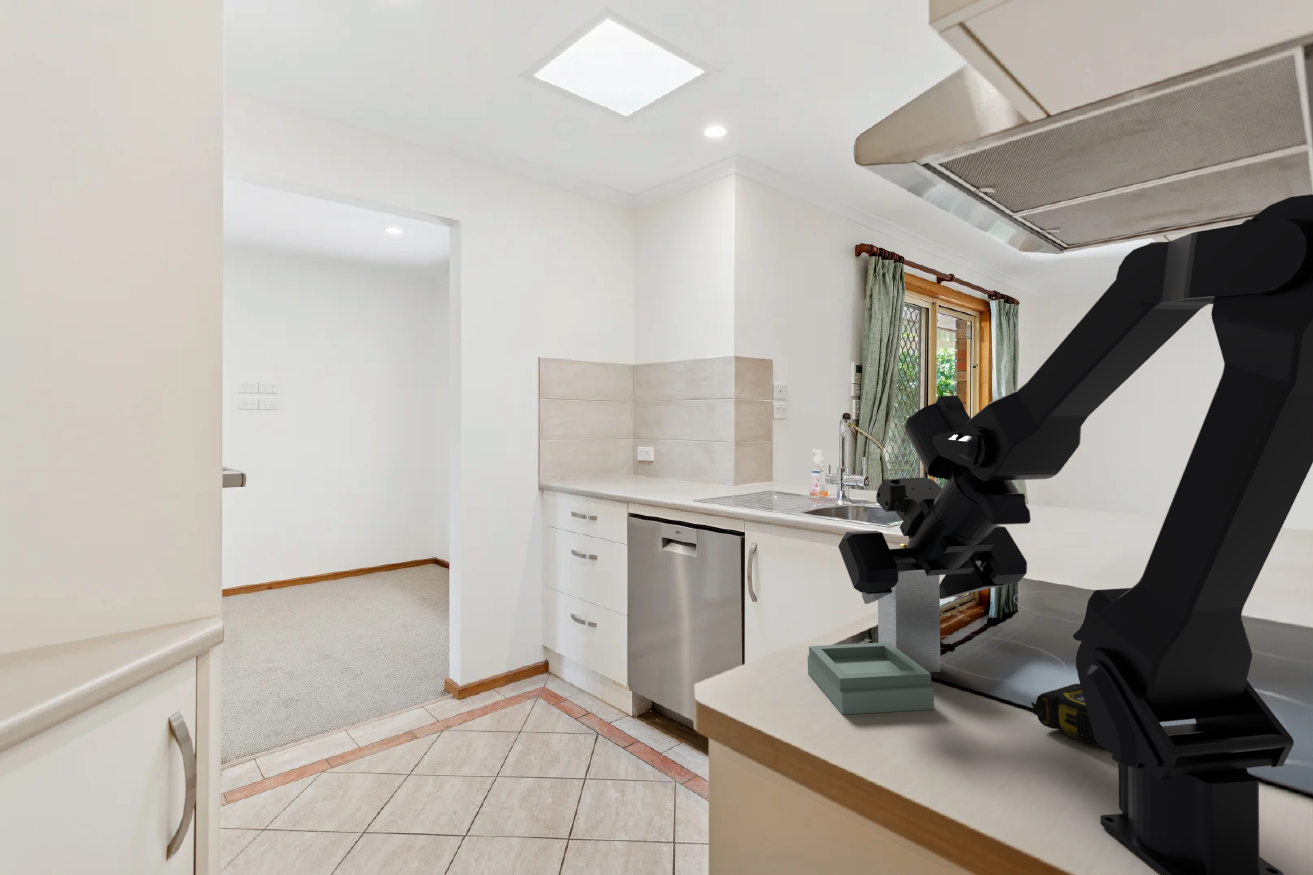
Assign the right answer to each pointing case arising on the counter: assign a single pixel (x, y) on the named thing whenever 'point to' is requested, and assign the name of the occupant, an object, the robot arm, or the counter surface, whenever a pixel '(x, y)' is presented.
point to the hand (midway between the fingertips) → (902, 597)
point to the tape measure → (1065, 712)
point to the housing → (913, 618)
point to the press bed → (870, 678)
